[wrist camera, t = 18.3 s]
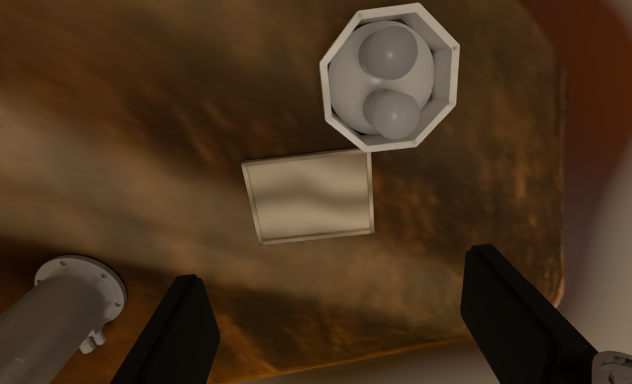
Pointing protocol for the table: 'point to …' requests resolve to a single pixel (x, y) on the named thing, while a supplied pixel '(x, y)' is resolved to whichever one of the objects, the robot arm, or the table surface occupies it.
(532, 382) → the robot arm
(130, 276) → the table surface
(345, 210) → the tray
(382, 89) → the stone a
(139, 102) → the table surface
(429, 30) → the bowl
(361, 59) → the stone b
